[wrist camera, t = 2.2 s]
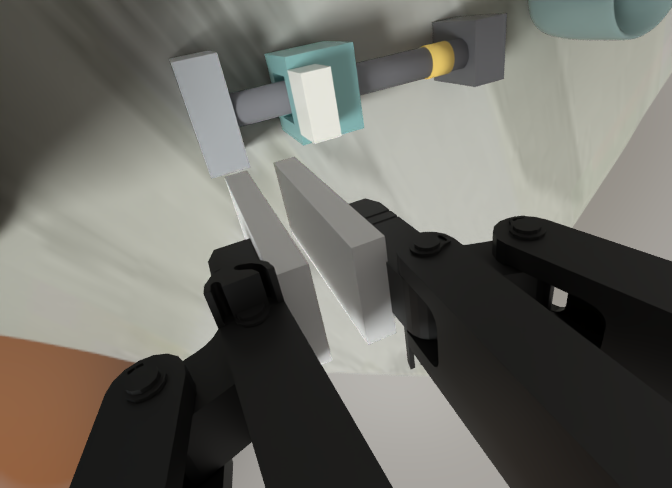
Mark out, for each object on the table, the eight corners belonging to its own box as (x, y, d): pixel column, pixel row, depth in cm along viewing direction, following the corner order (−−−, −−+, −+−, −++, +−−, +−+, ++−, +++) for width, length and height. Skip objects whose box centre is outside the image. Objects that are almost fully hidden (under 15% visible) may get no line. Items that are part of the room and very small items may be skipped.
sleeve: (282, 129, 34) (316, 155, 27) (264, 54, 31) (297, 59, 24) (335, 115, 36) (382, 136, 28) (323, 41, 32) (372, 42, 25)
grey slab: (204, 159, 34) (211, 178, 30) (168, 58, 30) (170, 62, 25) (238, 150, 35) (250, 167, 30) (208, 50, 31) (217, 52, 26)
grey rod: (221, 128, 31) (226, 135, 29) (210, 94, 30) (215, 98, 27) (451, 69, 36) (469, 71, 34) (450, 37, 35) (469, 37, 32)
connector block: (434, 80, 39) (474, 86, 34) (432, 22, 36) (475, 20, 31) (460, 73, 39) (503, 78, 35) (460, 16, 37) (506, 13, 32)
